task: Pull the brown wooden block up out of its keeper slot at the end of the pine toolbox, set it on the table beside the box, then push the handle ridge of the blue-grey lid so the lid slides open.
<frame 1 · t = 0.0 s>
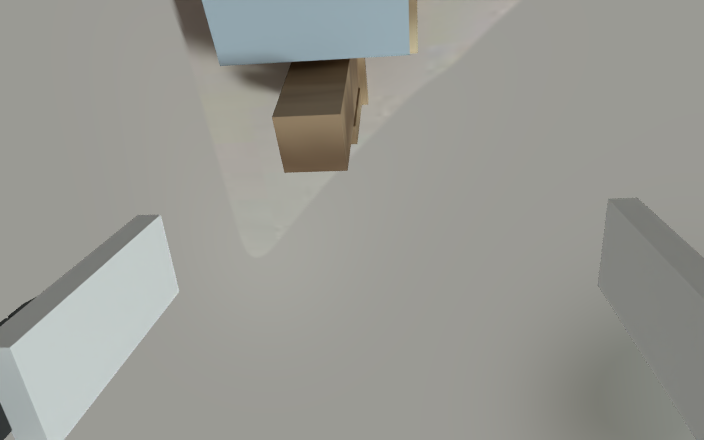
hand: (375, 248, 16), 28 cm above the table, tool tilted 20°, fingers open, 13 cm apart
brown wooden block: (331, 56, 40), point 1 cm above the table, touching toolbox
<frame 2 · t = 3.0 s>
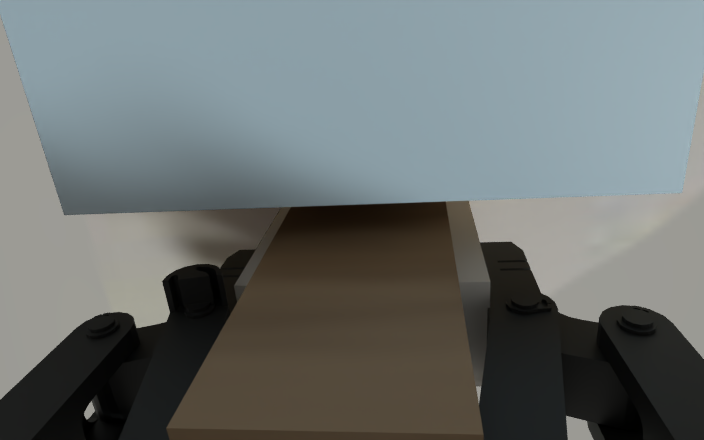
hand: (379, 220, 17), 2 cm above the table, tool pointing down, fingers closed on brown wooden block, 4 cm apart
brown wooden block: (380, 211, 18), point 1 cm above the table, touching gripper, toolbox
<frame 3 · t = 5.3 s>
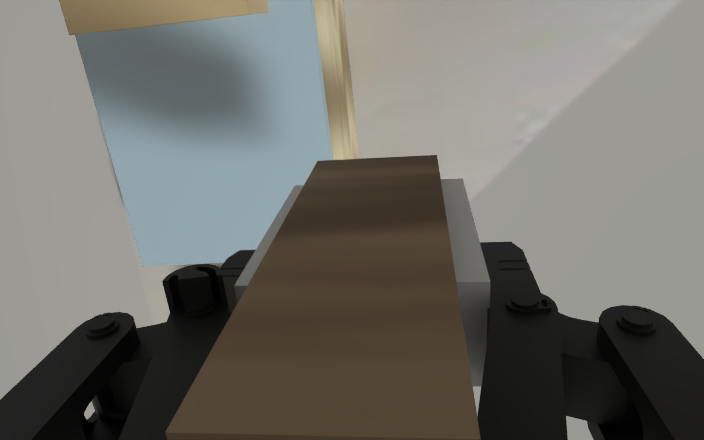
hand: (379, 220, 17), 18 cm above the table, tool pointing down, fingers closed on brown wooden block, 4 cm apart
lid: (199, 119, 26), point 10 cm above the table, slide at 0.0 cm
brown wooden block: (379, 213, 18), point 17 cm above the table, touching gripper
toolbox: (253, 89, 34), on the table
when the fingers open (2 cm above the table, at t = 7.9 s): brown wooden block drops 1 cm, on the table.
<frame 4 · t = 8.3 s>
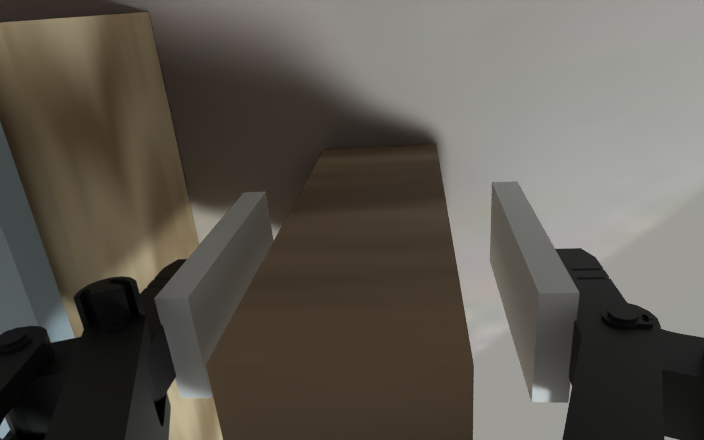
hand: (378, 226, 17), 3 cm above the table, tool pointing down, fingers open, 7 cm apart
brown wooden block: (382, 198, 19), on the table
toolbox: (52, 254, 22), on the table
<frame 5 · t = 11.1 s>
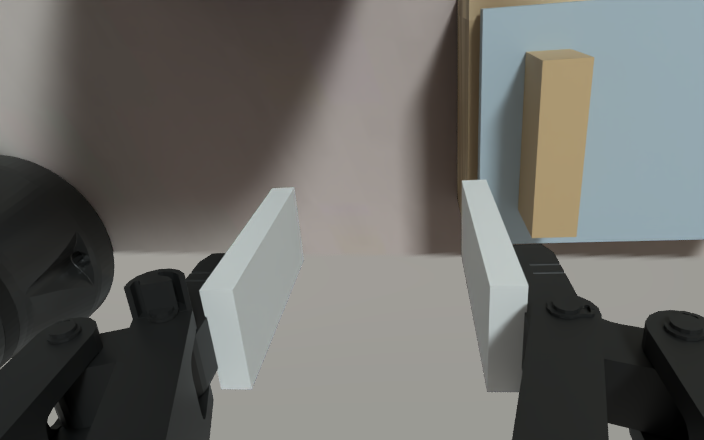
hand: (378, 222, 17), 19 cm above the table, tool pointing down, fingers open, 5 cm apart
lid: (672, 135, 24), point 10 cm above the table, slide at 0.0 cm
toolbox: (603, 97, 33), on the table
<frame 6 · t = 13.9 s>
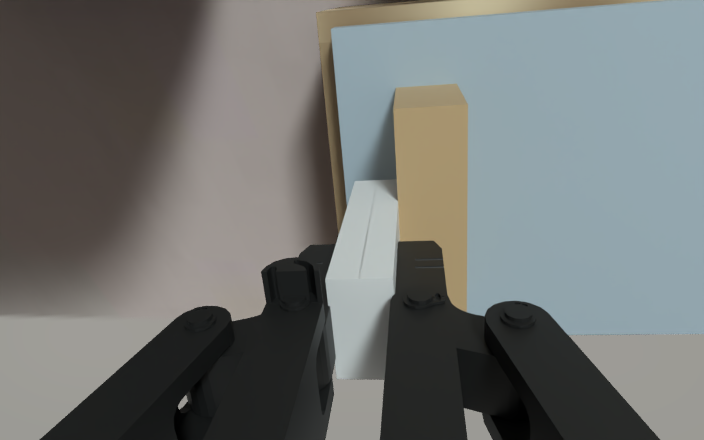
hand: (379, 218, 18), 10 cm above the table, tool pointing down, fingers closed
lid: (600, 205, 17), point 10 cm above the table, slide at 0.2 cm, touching gripper
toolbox: (532, 133, 26), on the table
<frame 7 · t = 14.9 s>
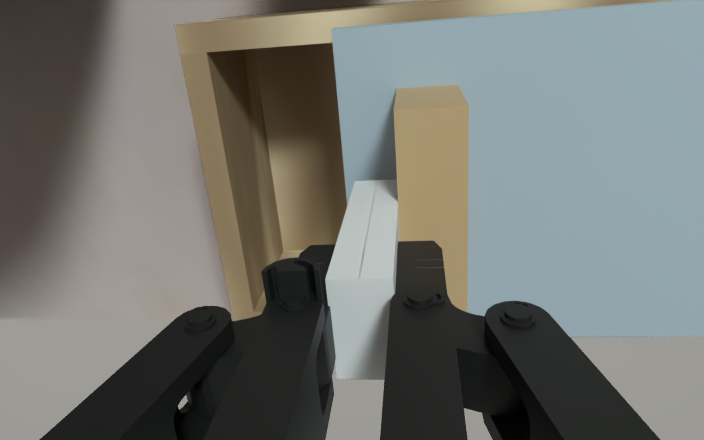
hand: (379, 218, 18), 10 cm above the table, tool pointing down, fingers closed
lid: (602, 206, 17), point 10 cm above the table, slide at 5.3 cm, touching gripper
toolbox: (428, 139, 26), on the table
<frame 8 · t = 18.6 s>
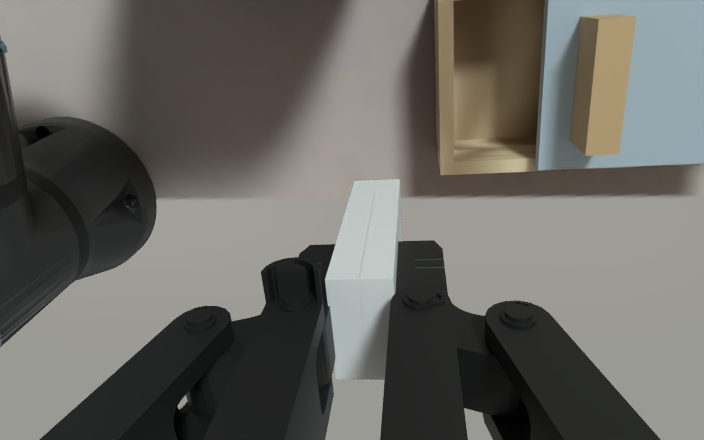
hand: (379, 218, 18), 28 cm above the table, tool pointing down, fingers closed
lid: (690, 77, 32), point 10 cm above the table, slide at 6.2 cm
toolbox: (548, 65, 42), on the table
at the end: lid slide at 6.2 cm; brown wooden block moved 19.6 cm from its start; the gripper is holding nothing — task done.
